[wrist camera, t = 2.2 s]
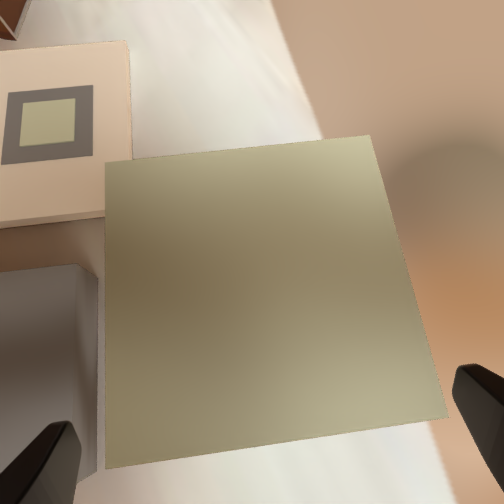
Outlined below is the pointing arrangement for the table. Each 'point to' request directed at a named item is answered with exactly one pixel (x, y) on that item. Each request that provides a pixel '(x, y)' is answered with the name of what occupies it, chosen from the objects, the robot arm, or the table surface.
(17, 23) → the food container
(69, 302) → the slate slab
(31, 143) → the card
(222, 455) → the table surface
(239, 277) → the sage block
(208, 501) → the table surface
